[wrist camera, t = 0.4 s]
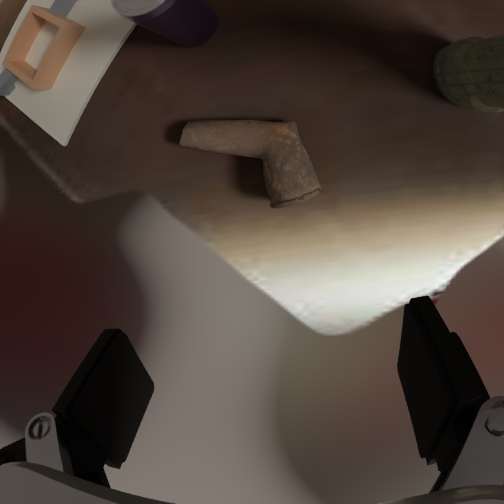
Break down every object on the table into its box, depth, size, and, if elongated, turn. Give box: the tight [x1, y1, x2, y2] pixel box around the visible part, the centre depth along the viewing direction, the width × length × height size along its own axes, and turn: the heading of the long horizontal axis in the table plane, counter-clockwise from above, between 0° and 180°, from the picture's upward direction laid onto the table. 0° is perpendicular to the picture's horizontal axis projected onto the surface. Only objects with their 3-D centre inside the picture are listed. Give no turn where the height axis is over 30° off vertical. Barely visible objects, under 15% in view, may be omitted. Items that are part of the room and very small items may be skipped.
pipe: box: [179, 120, 322, 208], centre depth 34 cm, size 6×17×10 cm
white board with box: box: [0, 0, 137, 146], centre depth 28 cm, size 22×24×5 cm
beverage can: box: [111, 0, 218, 47], centre depth 22 cm, size 6×6×15 cm
